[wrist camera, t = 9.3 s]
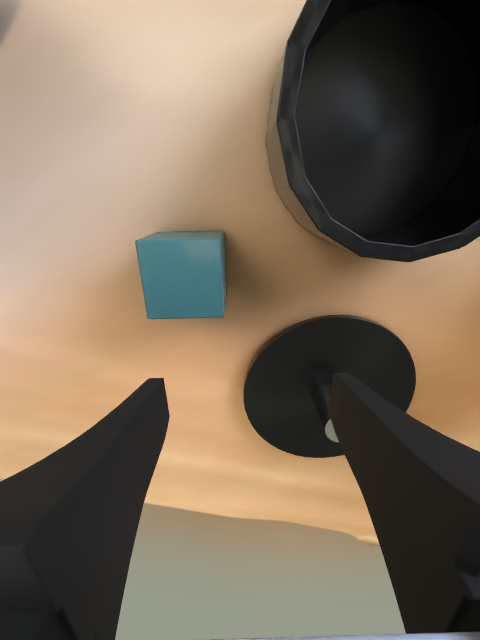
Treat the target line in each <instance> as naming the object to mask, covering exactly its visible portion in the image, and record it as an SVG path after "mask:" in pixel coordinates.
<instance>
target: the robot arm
mask: <svg viewBox="0 0 480 640" xmlns="http://www.w3.org/2000/svg"><path fill="white" fill-rule="evenodd" d="M329 415H330V418H331V421H332V425H333V428H334V431H335V434H336V436H337V438H338V441H339V443H340V445H341V447H342V450H343V452H344V454H345V456H346V458H347V461H348V463H349V465H350V467H351V469H352V471H353V474H354V476H355V478H356V480H357V482H358V485H359V487H360V489H361V492H362V494H363V497H364V499H365V502H366V505H367V508H368V511H369V514H370V517H371V520H372V522H373V525H374V528H375V531H376V535H377V538H378V541H379V544H380V547H381V550H382V553H383V556H384V559H385V563H386V566H387V569H388V572H389V576H390V579H391V582H392V585H393V589H394V592H395V595H396V599H397V603H398V606H399V609H400V613H401V617H402V620H403V624H404V628H405V631H406V634H385V635H351V636H318V637H282V638H250V639H249V638H247V639H214V640H480V452H478V451H476V450H474V449H472V448H470V447H468V446H466V445H463V444H461V443H459V442H457V441H455V440H453V439H451V438H449V437H447V436H445V435H443V434H441V433H439V432H438V431H436V430H434V429H432V428H430V427H428V426H427V425H425V424H423V423H421V422H420V421H418V420H416V419H415V418H413V417H411V416H410V415H408V414H407V413H405V412H403V411H402V410H400V409H399V408H397V407H396V406H394V405H393V404H391V403H390V402H388V401H387V400H385V399H384V398H383V397H381V396H380V395H378V394H377V393H376V392H374V391H373V390H371V389H370V388H369V387H367V386H366V385H365V384H363V383H362V382H361V381H359V380H358V379H356V378H355V377H354V376H352V375H351V374H349V373H333V379H332V388H331V396H330V404H329ZM168 422H169V410H168V403H167V397H166V391H165V385H164V378H149V379H148V380H147V381H145V382H144V383H143V384H142V385H141V386H140V387H139V388H138V389H137V390H136V391H134V392H133V393H132V394H131V395H130V396H129V397H128V398H127V399H126V400H124V401H123V402H122V403H121V404H120V405H119V406H118V407H116V408H115V409H114V410H113V411H112V412H110V413H109V414H108V415H107V416H105V417H104V418H103V419H102V420H100V421H99V422H98V423H97V424H95V425H94V426H93V427H91V428H90V429H89V430H87V431H86V432H85V433H83V434H82V435H80V436H79V437H77V438H76V439H74V440H73V441H71V442H70V443H68V444H67V445H65V446H64V447H62V448H60V449H59V450H57V451H55V452H54V453H52V454H50V455H49V456H47V457H46V458H44V459H42V460H41V461H39V462H37V463H35V464H34V465H32V466H30V467H28V468H26V469H24V470H22V471H21V472H19V473H17V474H15V475H13V476H11V477H9V478H7V479H5V480H3V481H1V482H0V640H115V636H116V630H117V624H118V620H119V614H120V609H121V603H122V598H123V593H124V588H125V583H126V578H127V573H128V569H129V564H130V559H131V555H132V550H133V546H134V541H135V537H136V532H137V528H138V524H139V520H140V516H141V512H142V507H143V503H144V500H145V497H146V493H147V490H148V487H149V484H150V481H151V478H152V476H153V473H154V470H155V467H156V464H157V461H158V458H159V455H160V452H161V449H162V446H163V443H164V440H165V436H166V432H167V427H168ZM212 640H213V639H212Z"/></svg>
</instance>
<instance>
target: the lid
mask: <svg viewBox="0 0 480 640" xmlns="http://www.w3.org/2000/svg"><path fill="white" fill-rule="evenodd" d="M333 373H349V374H351V375H352V376H354V377H355V378H356V379H358V380H359V381H361V382H362V383H363V384H365V385H366V386H367V387H369V388H370V389H371V390H373V391H374V392H376V393H377V394H378V395H380V396H381V397H383V398H384V399H385V400H387V401H388V402H390V403H391V404H393V405H394V406H396V407H397V408H399V409H400V410H402V411H403V412H406V411H407V409H408V407H409V405H410V403H411V401H412V398H413V394H414V391H415V383H416V373H415V367H414V363H413V360H412V357H411V355H410V353H409V351H408V349H407V348H406V346H405V345H404V344H403V343H402V341H401V340H400V339H399V338H398V337H397V336H396V335H394V334H393V333H392V332H391V331H389V330H388V329H387V328H385V327H383V326H382V325H380V324H378V323H376V322H373V321H371V320H368V319H365V318H361V317H357V316H349V315H328V316H321V317H316V318H312V319H308V320H305V321H302V322H300V323H297V324H295V325H293V326H291V327H289V328H287V329H285V330H283V331H282V332H281V333H279V334H278V335H276V336H275V337H273V338H272V339H271V340H270V341H269V342H268V343H267V344H266V345H265V346H264V347H263V348H262V349H261V350H260V351H259V353H258V354H257V355H256V357H255V358H254V360H253V361H252V363H251V365H250V368H249V370H248V372H247V375H246V379H245V383H244V405H245V411H246V413H247V416H248V419H249V421H250V423H251V424H252V426H253V428H254V429H255V430H256V432H257V433H258V434H259V435H260V436H261V437H262V438H263V439H264V440H266V441H267V442H268V443H270V444H271V445H273V446H274V447H276V448H278V449H280V450H282V451H285V452H287V453H290V454H294V455H298V456H303V457H313V458H326V457H335V456H340V455H345V454H344V452H343V450H342V447H341V445H340V443H339V441H338V438H337V436H336V434H335V431H334V428H333V425H332V421H331V418H330V415H329V404H330V396H331V388H332V379H333Z"/></svg>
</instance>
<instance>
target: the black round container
mask: <svg viewBox="0 0 480 640" xmlns="http://www.w3.org/2000/svg"><path fill="white" fill-rule="evenodd" d="M266 149H267V154H268V161H269V167H270V171H271V175H272V178H273V182H274V186H275V189H276V192H277V193H278V195H279V196H280V198H281V200H282V201H283V203H284V205H285V206H286V208H287V209H288V210H289V212H290V213H291V214H292V215H293V217H294V218H295V220H296V221H297V223H299V224H300V225H301V226H303V227H304V228H306V229H308V230H309V231H311V232H312V233H314V234H316V235H317V236H319V237H321V238H322V239H324V240H326V241H327V242H329V243H331V244H333V245H335V246H338V247H340V248H342V249H344V250H347V251H349V252H351V253H353V254H356V255H358V256H361V257H366V258H375V259H384V260H392V261H401V262H412V261H416V260H419V259H423V258H427V257H430V256H434V255H438V254H441V253H445V252H449V251H452V250H456V249H460V248H461V247H464V246H465V245H467V244H469V243H470V242H472V241H473V240H475V239H476V238H478V237H479V236H480V0H307V1H306V3H305V5H304V7H303V9H302V11H301V13H300V15H299V18H298V20H297V22H296V24H295V26H294V28H293V30H292V32H291V35H290V37H289V39H288V41H287V44H286V47H285V51H284V54H283V57H282V60H281V63H280V67H279V70H278V73H277V76H276V80H275V83H274V86H273V90H272V95H271V102H270V110H269V116H268V124H267V134H266Z"/></svg>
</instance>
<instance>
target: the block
mask: <svg viewBox="0 0 480 640" xmlns="http://www.w3.org/2000/svg"><path fill="white" fill-rule="evenodd" d="M135 244H136V250H137V256H138V262H139V268H140V275H141V281H142V287H143V293H144V300H145V306H146V312H147V318H148V319H177V318H223V317H224V311H225V302H226V294H227V293H226V268H225V242H224V231H190V232H157V233H155V234H152V235H149V236H147V237H144V238H142V239H139V240H136V241H135Z"/></svg>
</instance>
